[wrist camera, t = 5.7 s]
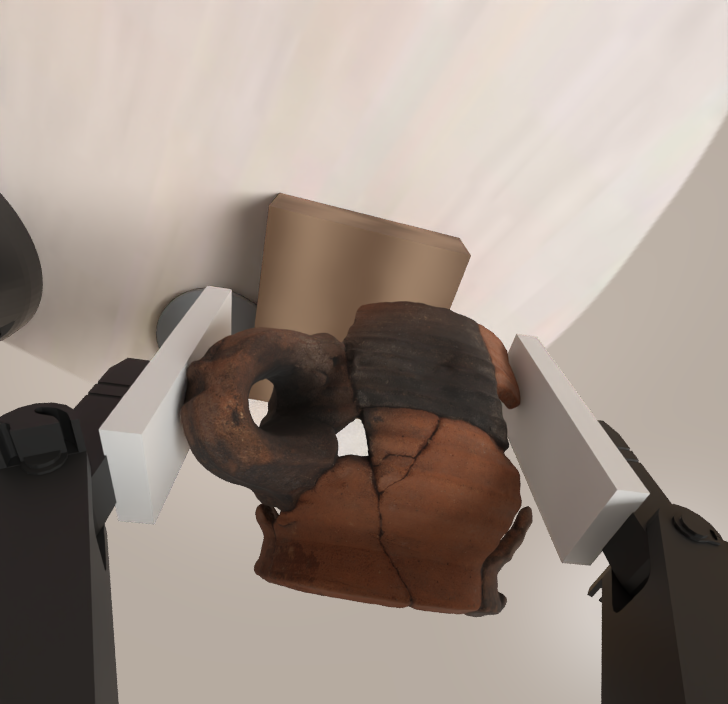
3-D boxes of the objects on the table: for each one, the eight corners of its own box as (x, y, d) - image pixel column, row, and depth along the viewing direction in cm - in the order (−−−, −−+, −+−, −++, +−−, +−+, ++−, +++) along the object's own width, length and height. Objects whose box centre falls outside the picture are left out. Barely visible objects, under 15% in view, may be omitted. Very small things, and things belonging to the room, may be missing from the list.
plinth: (256, 370, 33) (245, 397, 30) (279, 192, 26) (268, 205, 23) (399, 398, 35) (403, 427, 32) (459, 237, 28) (470, 255, 25)
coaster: (160, 377, 34) (157, 381, 33) (158, 275, 29) (155, 278, 29) (271, 397, 35) (269, 402, 34) (286, 303, 30) (285, 306, 30)
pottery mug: (574, 372, 15) (601, 636, 12) (391, 412, 22) (370, 589, 18) (321, 155, 9) (192, 606, 5) (167, 305, 15) (61, 549, 12)
